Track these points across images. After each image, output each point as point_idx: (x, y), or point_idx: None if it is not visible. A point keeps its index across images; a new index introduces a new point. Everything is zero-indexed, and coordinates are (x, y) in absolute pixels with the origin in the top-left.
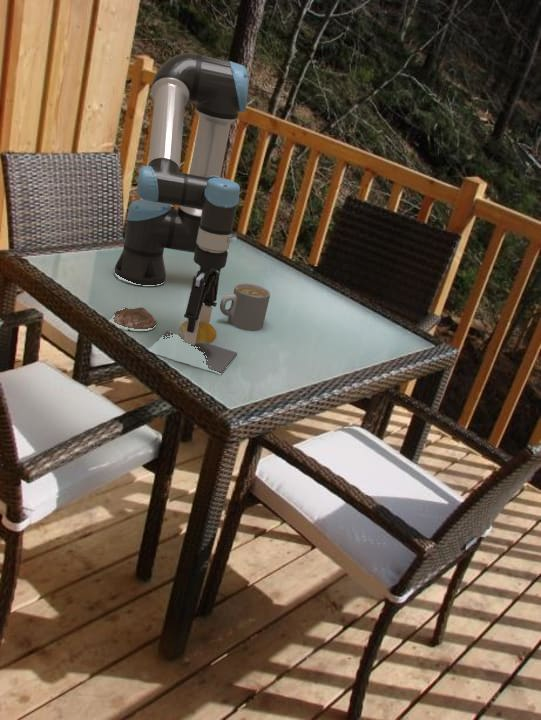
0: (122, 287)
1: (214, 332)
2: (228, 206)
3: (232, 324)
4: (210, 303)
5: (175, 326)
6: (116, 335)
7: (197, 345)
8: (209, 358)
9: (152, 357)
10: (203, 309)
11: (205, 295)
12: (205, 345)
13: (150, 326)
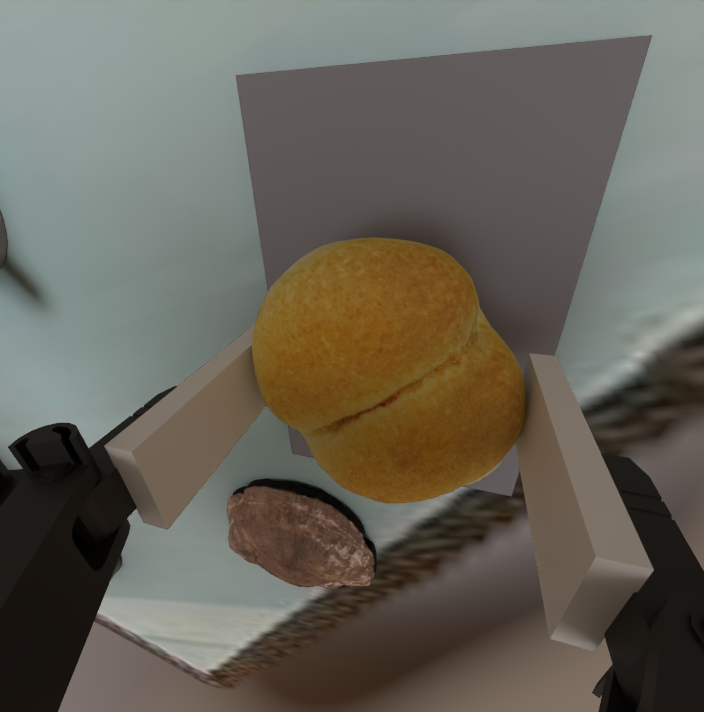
0: (143, 557)
1: (369, 272)
2: None
3: (2, 242)
4: (85, 494)
5: None
6: (426, 562)
7: None
8: (441, 218)
9: None
10: (185, 478)
11: (58, 660)
12: None
13: (313, 505)
